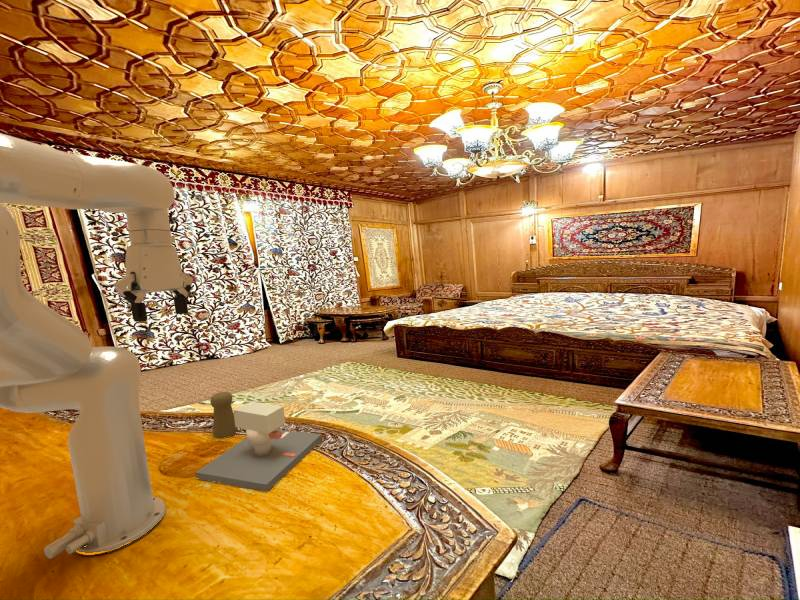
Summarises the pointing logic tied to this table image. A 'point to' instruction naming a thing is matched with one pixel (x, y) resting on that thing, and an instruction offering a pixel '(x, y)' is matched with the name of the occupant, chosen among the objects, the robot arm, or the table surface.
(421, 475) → the table surface
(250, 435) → the cream rectangular block
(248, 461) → the base plate
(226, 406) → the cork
